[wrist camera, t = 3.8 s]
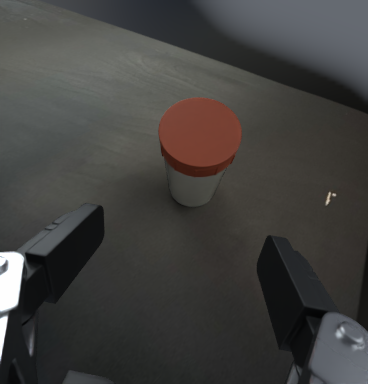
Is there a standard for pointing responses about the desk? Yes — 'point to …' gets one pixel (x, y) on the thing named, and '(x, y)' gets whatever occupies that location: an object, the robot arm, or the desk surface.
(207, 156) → the lid
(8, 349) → the robot arm
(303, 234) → the desk surface
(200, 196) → the jar
